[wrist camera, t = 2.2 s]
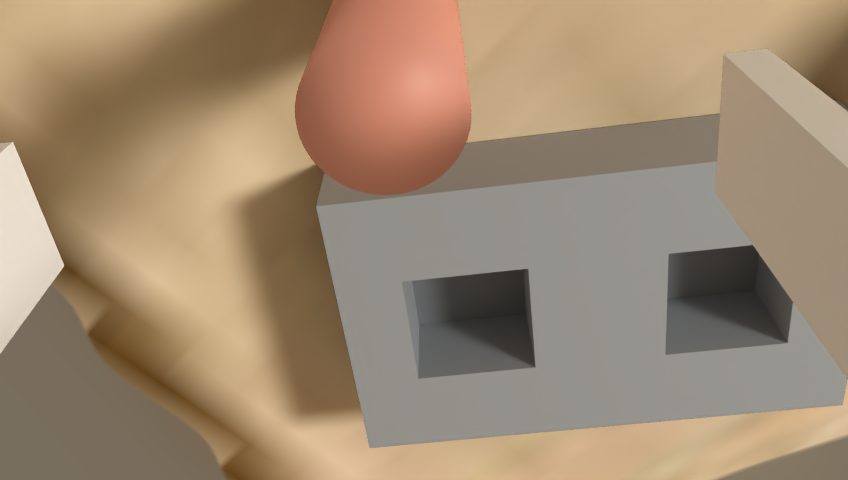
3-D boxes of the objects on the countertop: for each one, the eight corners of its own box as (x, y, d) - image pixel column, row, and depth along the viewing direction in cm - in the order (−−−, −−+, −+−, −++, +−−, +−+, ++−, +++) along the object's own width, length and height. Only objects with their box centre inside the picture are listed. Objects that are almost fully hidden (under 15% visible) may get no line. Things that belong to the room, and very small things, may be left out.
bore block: (327, 159, 32) (315, 206, 29) (838, 100, 31) (890, 142, 27) (375, 386, 38) (369, 448, 35) (803, 345, 37) (842, 404, 34)
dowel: (342, -80, 28) (277, 41, 16) (446, -94, 27) (461, 18, 15) (360, 24, 29) (313, 204, 17) (457, 11, 29) (479, 185, 17)
